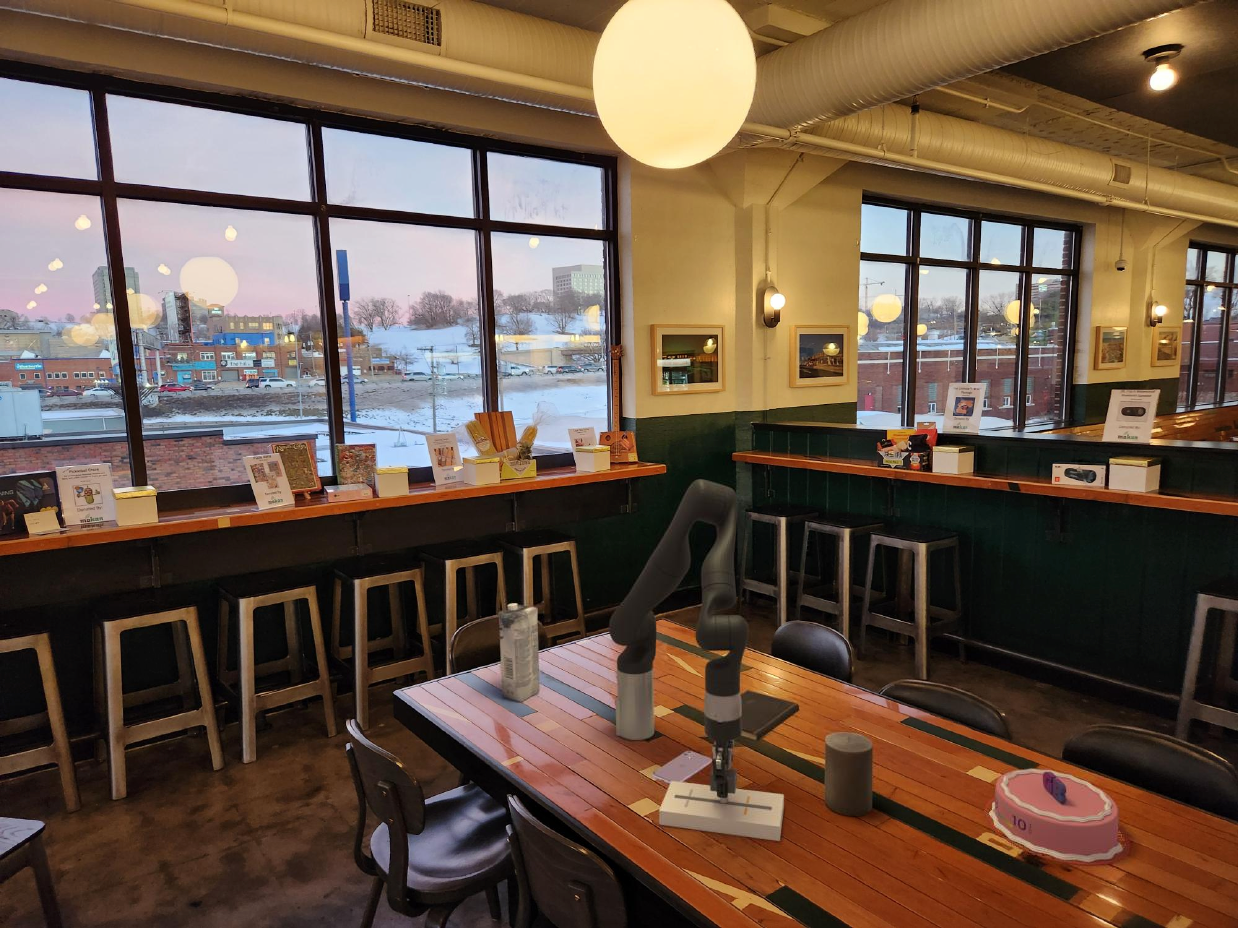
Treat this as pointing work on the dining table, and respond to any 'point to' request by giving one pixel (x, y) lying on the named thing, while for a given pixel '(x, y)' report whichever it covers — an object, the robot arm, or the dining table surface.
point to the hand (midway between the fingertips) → (723, 791)
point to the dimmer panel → (723, 811)
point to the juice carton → (519, 652)
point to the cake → (1057, 817)
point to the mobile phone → (682, 767)
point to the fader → (731, 783)
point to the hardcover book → (763, 713)
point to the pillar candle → (848, 773)
